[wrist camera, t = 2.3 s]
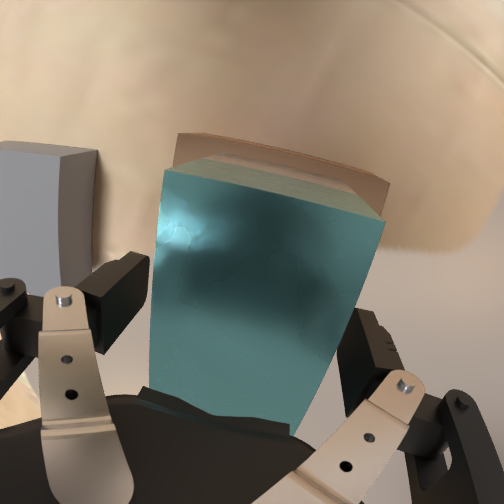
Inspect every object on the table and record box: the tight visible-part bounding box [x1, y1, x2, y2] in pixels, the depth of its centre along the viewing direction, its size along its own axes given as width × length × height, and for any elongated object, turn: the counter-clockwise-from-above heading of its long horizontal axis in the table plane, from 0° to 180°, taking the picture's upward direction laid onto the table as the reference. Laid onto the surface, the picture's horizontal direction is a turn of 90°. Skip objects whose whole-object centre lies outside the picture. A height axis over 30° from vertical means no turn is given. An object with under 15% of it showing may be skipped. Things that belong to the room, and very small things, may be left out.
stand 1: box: [0, 141, 97, 297], centre depth 19 cm, size 10×10×4 cm
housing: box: [149, 152, 385, 436], centre depth 12 cm, size 9×6×7 cm, turn 168°
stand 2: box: [173, 133, 390, 216], centre depth 17 cm, size 10×10×4 cm
